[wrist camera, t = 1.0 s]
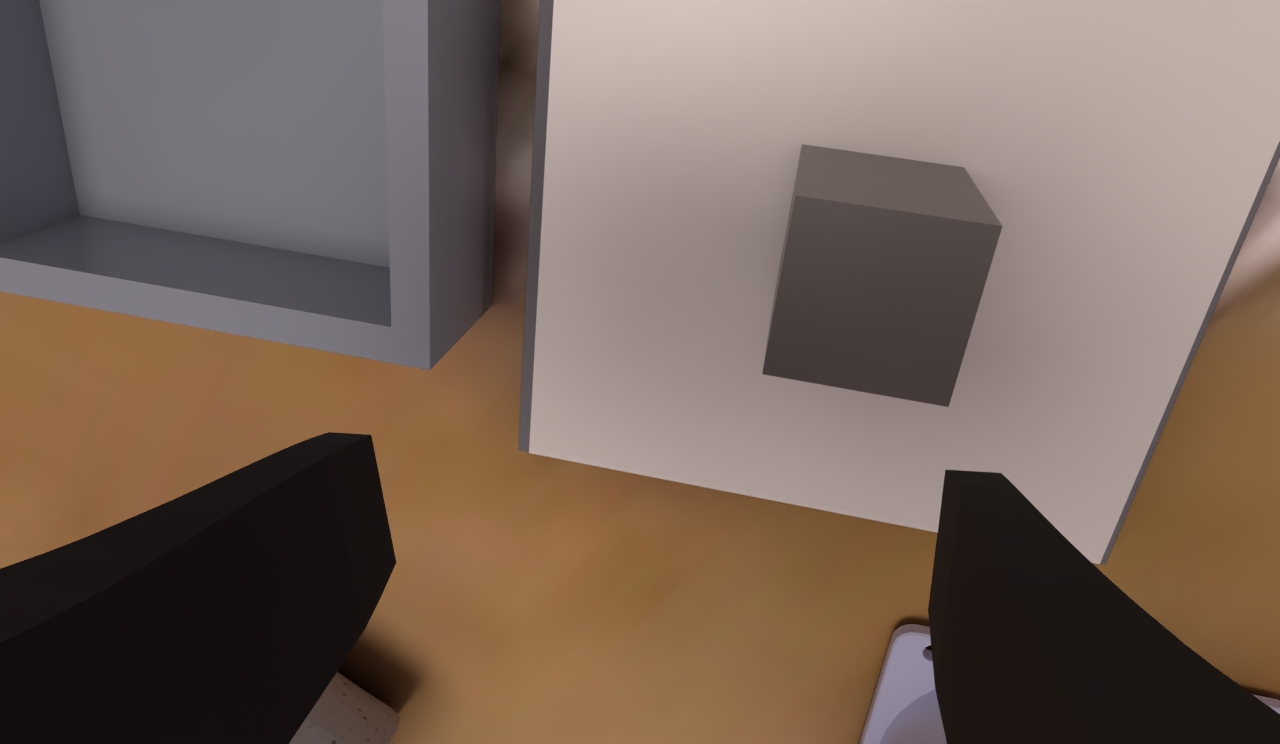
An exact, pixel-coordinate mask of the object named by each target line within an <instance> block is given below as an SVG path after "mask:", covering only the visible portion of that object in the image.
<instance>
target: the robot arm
mask: <svg viewBox="0 0 1280 744" xmlns="http://www.w3.org/2000/svg"><path fill="white" fill-rule="evenodd" d="M395 564H396V559H395V554H394V549H393V544H392V539H391V534H390V529H389V524H388V519H387V514H386V508H385V503H384V498H383V493H382V488H381V483H380V478H379V473H378V468H377V463H376V457H375V452H374V447H373V442H372V437H371V435H363V434H346V433H330V432H329V433H326V434H323V435H320V436H316V437H313V438H311V439H308V440H305V441H303V442H300V443H298V444H295V445H293V446H290V447H288V448H286V449H283V450H281V451H279V452H277V453H274V454H272V455H270V456H268V457H265V458H263V459H261V460H259V461H257V462H254V463H252V464H250V465H248V466H246V467H243V468H241V469H239V470H237V471H235V472H233V473H230V474H228V475H226V476H224V477H222V478H220V479H217V480H215V481H213V482H211V483H209V484H207V485H204V486H202V487H200V488H198V489H196V490H194V491H191V492H189V493H187V494H185V495H183V496H181V497H178V498H176V499H174V500H172V501H169V502H167V503H165V504H162V505H160V506H158V507H155V508H153V509H151V510H148V511H146V512H144V513H141V514H139V515H137V516H135V517H132V518H130V519H128V520H125V521H123V522H121V523H118V524H116V525H114V526H111V527H109V528H107V529H104V530H102V531H100V532H97V533H95V534H93V535H90V536H88V537H85V538H83V539H80V540H78V541H75V542H73V543H70V544H68V545H65V546H62V547H60V548H57V549H54V550H52V551H49V552H46V553H44V554H41V555H38V556H36V557H33V558H30V559H27V560H24V561H21V562H18V563H16V564H13V565H10V566H7V567H4V568H1V569H0V744H289V743H290V741H291V740H292V738H293V737H294V735H295V734H296V732H297V731H298V729H299V728H300V726H301V725H302V723H303V722H304V721H305V719H306V718H307V716H308V715H309V713H310V712H311V710H312V709H313V707H314V706H315V704H316V703H317V701H318V700H319V698H320V697H321V695H322V694H323V692H324V691H325V689H326V688H327V686H328V685H329V683H330V682H331V680H332V679H333V677H334V676H335V674H336V673H337V671H338V670H339V668H340V666H341V665H342V663H343V662H344V660H345V659H346V657H347V656H348V654H349V653H350V651H351V650H352V648H353V647H354V645H355V643H356V642H357V640H358V639H359V637H360V636H361V634H362V632H363V631H364V629H365V628H366V626H367V624H368V622H369V620H370V618H371V616H372V614H373V612H374V610H375V608H376V606H377V604H378V602H379V600H380V597H381V595H382V593H383V591H384V589H385V586H386V584H387V582H388V580H389V577H390V575H391V573H392V571H393V569H394V566H395ZM928 613H929V625H930V627H927V626H922V625H917V624H907V625H903V626H900V627H899V628H898V629H896V630H895V631H894V633H893V635H892V638H891V641H890V644H889V647H888V651H887V654H886V657H885V660H884V664H883V667H882V670H881V674H880V677H879V680H878V683H877V687H876V690H875V693H874V696H873V700H872V703H871V706H870V710H869V713H868V716H867V719H866V723H865V726H864V729H863V732H862V736H861V739H860V742H859V744H1280V700H1278V699H1273V698H1268V697H1263V696H1258V695H1254V694H1251V693H1250V692H1248V691H1247V690H1245V689H1244V688H1243V687H1241V686H1240V685H1238V684H1237V683H1236V682H1234V681H1233V680H1232V679H1230V678H1229V677H1227V676H1226V675H1225V674H1223V673H1222V672H1220V671H1219V670H1218V669H1216V668H1215V667H1214V666H1212V665H1211V664H1210V663H1208V662H1207V661H1206V660H1205V659H1203V658H1202V657H1201V656H1199V655H1198V654H1197V653H1195V652H1194V651H1193V650H1192V649H1190V648H1189V647H1188V646H1187V645H1185V644H1184V643H1183V642H1182V641H1180V640H1179V639H1178V638H1177V637H1176V636H1174V635H1173V634H1172V633H1171V632H1170V631H1168V630H1167V629H1166V628H1165V627H1164V626H1162V625H1161V624H1160V623H1159V622H1158V621H1156V620H1155V619H1154V618H1153V617H1152V616H1150V615H1149V614H1148V613H1147V612H1146V611H1144V610H1143V609H1142V608H1141V607H1140V606H1139V605H1137V604H1136V603H1135V602H1134V601H1133V600H1132V599H1131V598H1129V597H1128V596H1127V595H1126V594H1125V593H1124V592H1123V591H1122V590H1120V589H1119V588H1118V587H1117V586H1116V585H1115V584H1114V583H1113V582H1111V581H1110V580H1109V579H1108V578H1107V577H1106V576H1105V575H1104V574H1103V573H1102V572H1101V571H1100V570H1099V569H1097V568H1096V567H1095V566H1094V565H1093V564H1092V563H1091V562H1090V561H1089V560H1088V559H1087V558H1086V557H1085V556H1084V555H1083V554H1082V553H1081V552H1080V551H1079V550H1078V549H1076V548H1075V547H1074V546H1073V545H1072V544H1071V543H1070V542H1069V541H1068V540H1067V539H1066V538H1065V537H1064V536H1063V535H1062V534H1061V533H1060V532H1059V531H1058V530H1057V529H1056V528H1055V527H1054V526H1053V525H1052V524H1051V523H1050V522H1049V521H1048V520H1047V519H1046V518H1045V517H1044V516H1043V515H1042V514H1041V513H1040V512H1039V511H1038V509H1037V508H1036V507H1035V506H1034V505H1033V504H1032V503H1031V502H1030V501H1029V500H1028V499H1027V498H1026V497H1025V496H1024V495H1023V494H1022V493H1021V492H1020V491H1019V490H1018V489H1017V488H1016V487H1015V486H1014V485H1013V484H1012V483H1011V482H1010V481H1009V480H1008V479H1007V478H1006V477H1005V476H1004V475H1003V474H1002V473H994V472H978V471H961V470H945V477H944V485H943V493H942V501H941V510H940V518H939V526H938V534H937V543H936V551H935V559H934V567H933V576H932V584H931V592H930V600H929V609H928ZM930 645H931V650H928V649H925V647H928V646H930Z"/></svg>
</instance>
